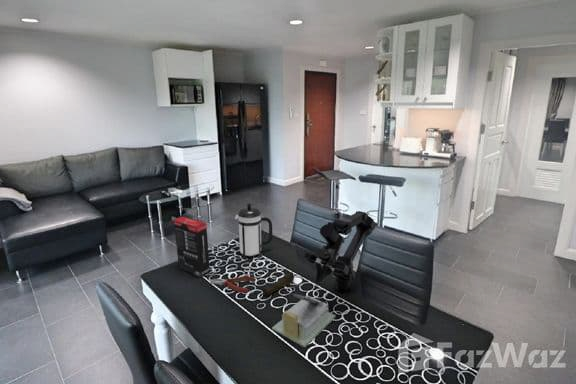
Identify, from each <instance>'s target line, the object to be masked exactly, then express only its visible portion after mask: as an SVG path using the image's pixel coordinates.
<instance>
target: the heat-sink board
mask: <svg viewBox="0 0 576 384" xmlns="http://www.w3.org/2000/svg"><path fill="white" fill-rule="evenodd" d="M305 297H308V298H311V299H314V300H316V301H318V302H319V304H317V303H313V302H309V301H305V300H302V299H300V300H299V301H298V302H296V303H295V304H293V306H292V307H290V308H289V309H288V310H285V311H284V312H283V313H282V315H281V320H280V321H278V322H277V323H276V324H275V325H273V326H272V327H271V329H272V330H273V331H274V332H276V333H278V334H280V335H281V336H283V337H285V338H287V339H288V340H289V341H292V342H294V343H295V344H297V345H299V346H301V347H303V348H304V349H305V348H306V347H308V345H310V344H311V342H312V341H313V340H314V339H315V338H317V336H318V335H319V334H320V333H322V331H323V330H325V329H326V328H327V326H328V325H329V324H331V322H332V321H333V320H334V319H335V318H336V314H334V313H331V312H329V311H330V310H329V304H328V303H325V302H324V301H321V300H319V299H316V298H314V297H312V296H310V295H307V294H306V295H305Z"/></svg>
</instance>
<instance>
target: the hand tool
mask: <svg viewBox="0 0 576 384" xmlns="http://www.w3.org/2000/svg"><path fill="white" fill-rule="evenodd" d="M294 280H295V274H294V273H293V272H289V273H286V274H285V275H283V277H282V278H281V279H279V280H276V281H275V282H273V283H272V284H269V285H267V286H265V287H263V288H262V295H263V296H265V297H266V298H267V297H269V296H271V295H272V293H274V292H277V291H278V290H280V289H281V288H284V287H285V286H289V285H290V284H291V283H293V281H294Z"/></svg>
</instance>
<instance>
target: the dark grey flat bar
mask: <svg viewBox="0 0 576 384" xmlns="http://www.w3.org/2000/svg"><path fill="white" fill-rule="evenodd" d="M292 296H293V297H294V298H297V299H300V300H305V301H309V302H313V303H317V304H319V302H318V301H316V300H314V299H311V298H308V297H305V296H306V295H305V296H304V295H301V294H296V293H293V294H292Z"/></svg>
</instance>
